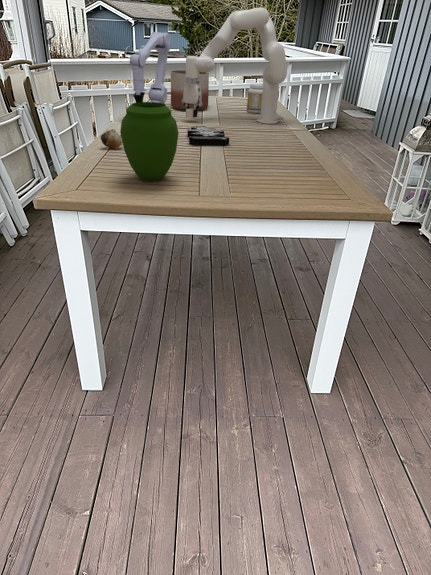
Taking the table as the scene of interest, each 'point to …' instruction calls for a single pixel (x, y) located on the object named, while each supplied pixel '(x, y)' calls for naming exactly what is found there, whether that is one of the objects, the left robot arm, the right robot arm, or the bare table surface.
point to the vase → (149, 139)
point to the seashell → (111, 139)
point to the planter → (178, 89)
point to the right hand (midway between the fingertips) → (191, 115)
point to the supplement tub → (254, 98)
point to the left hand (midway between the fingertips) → (139, 107)
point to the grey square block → (189, 112)
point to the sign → (207, 136)
